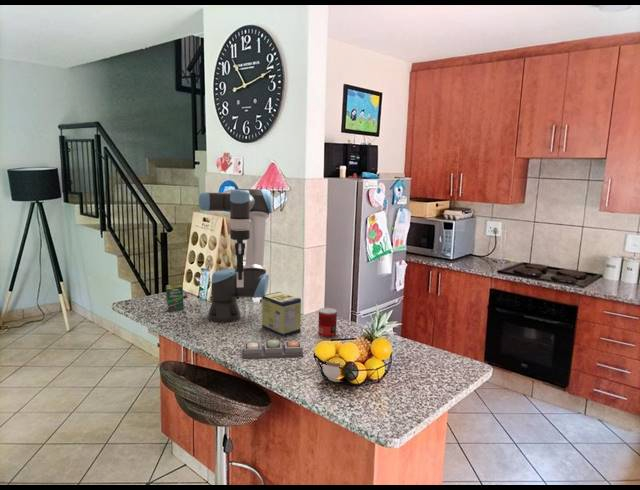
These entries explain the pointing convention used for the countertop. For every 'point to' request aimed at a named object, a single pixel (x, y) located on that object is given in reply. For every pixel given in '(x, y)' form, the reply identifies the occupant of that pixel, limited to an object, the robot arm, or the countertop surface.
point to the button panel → (273, 351)
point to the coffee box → (174, 297)
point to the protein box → (281, 313)
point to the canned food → (327, 322)
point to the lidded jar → (332, 370)
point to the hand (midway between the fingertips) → (240, 286)
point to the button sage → (273, 344)
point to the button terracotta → (293, 344)
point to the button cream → (252, 346)
